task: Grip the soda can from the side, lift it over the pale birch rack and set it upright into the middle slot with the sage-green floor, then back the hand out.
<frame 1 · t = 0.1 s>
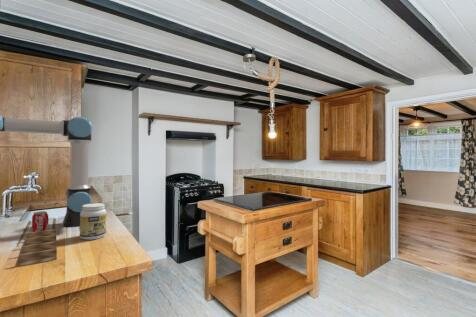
supplement tub: (93, 237, 137), on the counter
rack: (40, 249, 118), on the counter
soda can: (40, 235, 139), on the counter
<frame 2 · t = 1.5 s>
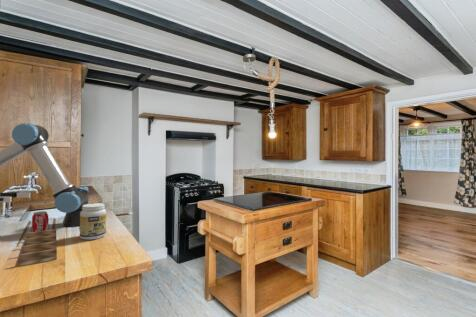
hand: (21, 197, 138), 20 cm above the counter, tool horizontal, fingers open, 13 cm apart
nothing on the counter moved.
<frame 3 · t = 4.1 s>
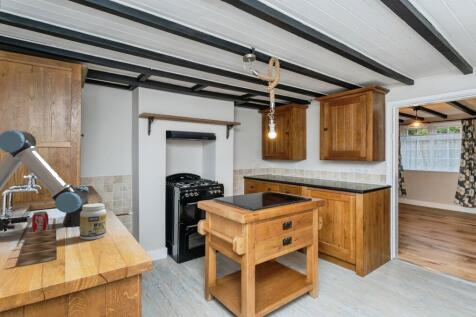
hand: (31, 223, 138), 6 cm above the counter, tool horizontal, fingers open, 13 cm apart
nothing on the counter moved.
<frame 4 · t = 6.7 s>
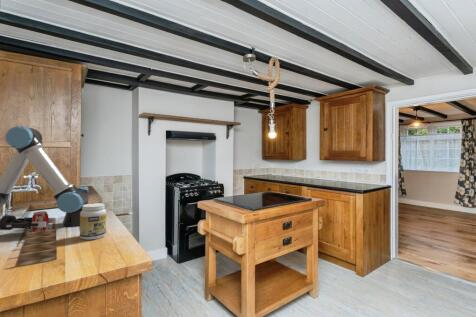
hand: (50, 222, 139), 7 cm above the counter, tool horizontal, fingers closed on soda can, 7 cm apart
soda can: (40, 235, 139), on the counter, touching gripper
everything else where it was.
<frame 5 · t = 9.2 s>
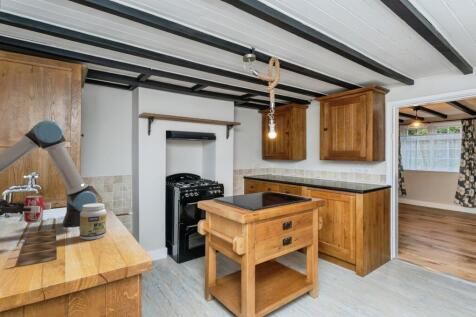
hand: (44, 207, 123), 18 cm above the counter, tool horizontal, fingers closed on soda can, 7 cm apart
soda can: (33, 222, 122), point 11 cm above the counter, touching gripper
everything else where it was.
when the fingers open (10 cm above the counter, at t = 11.7 s): soda can drops 2 cm, resting on rack.
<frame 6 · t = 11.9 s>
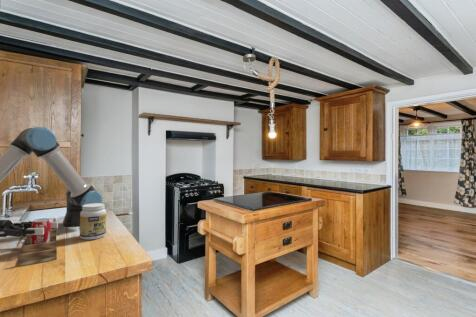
hand: (50, 228, 118), 10 cm above the counter, tool horizontal, fingers open, 9 cm apart
soda can: (40, 246, 118), point 1 cm above the counter, touching rack
everything else where it was.
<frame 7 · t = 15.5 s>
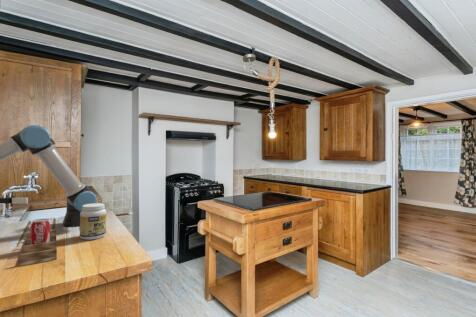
hand: (16, 203, 117), 21 cm above the counter, tool horizontal, fingers open, 13 cm apart
nothing on the counter moved.
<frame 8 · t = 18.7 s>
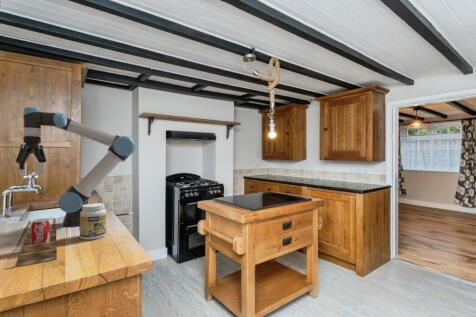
hand: (32, 174, 143), 32 cm above the counter, tool pointing down, fingers open, 13 cm apart
nothing on the counter moved.
at the end: soda can inside the target area on the rack (0.1 cm from its centre), point 1.2 cm above the rack's base; soda can tilted 0°; the gripper is holding nothing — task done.
